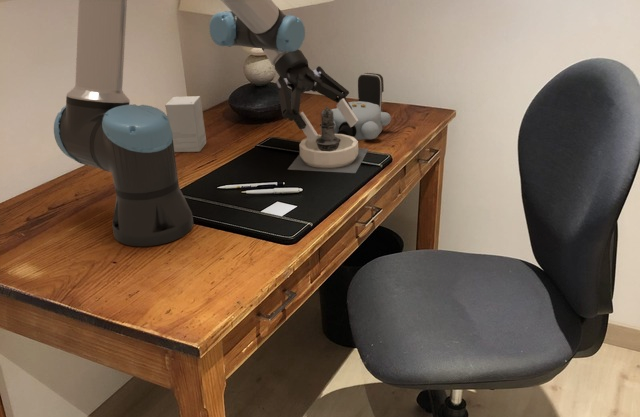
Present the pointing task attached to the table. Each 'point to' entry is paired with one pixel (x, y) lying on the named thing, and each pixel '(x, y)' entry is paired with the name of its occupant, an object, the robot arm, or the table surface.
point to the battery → (370, 88)
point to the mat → (350, 168)
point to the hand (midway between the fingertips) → (335, 131)
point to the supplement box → (186, 123)
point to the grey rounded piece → (362, 121)
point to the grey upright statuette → (327, 132)
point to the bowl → (329, 153)
